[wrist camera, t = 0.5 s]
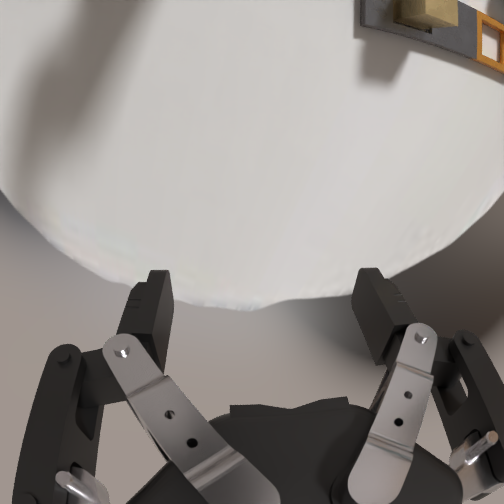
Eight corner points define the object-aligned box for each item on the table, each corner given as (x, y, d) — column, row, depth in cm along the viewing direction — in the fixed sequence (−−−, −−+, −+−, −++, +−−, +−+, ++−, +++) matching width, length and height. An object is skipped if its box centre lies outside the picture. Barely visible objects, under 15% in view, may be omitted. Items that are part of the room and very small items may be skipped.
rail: (360, -29, 24) (364, -33, 23) (513, 34, 26) (520, 35, 25) (360, 25, 28) (365, 24, 27) (512, 78, 30) (519, 79, 29)
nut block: (391, -10, 26) (424, -22, 19) (421, 0, 26) (456, -8, 19) (391, 20, 28) (425, 13, 21) (421, 29, 28) (458, 26, 21)
